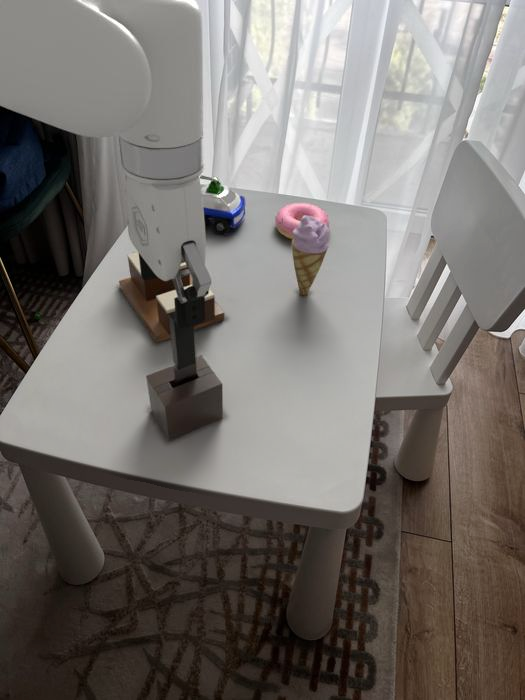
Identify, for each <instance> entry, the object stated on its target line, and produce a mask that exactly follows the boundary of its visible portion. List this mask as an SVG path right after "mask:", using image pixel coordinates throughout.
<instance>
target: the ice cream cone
mask: <svg viewBox="0 0 525 700" xmlns="http://www.w3.org/2000/svg"><path fill="white" fill-rule="evenodd" d="M299 219H300V218H299ZM300 221H301V222H300V223H299V224H298V225H297V227H296V228H295V229H294V231H293V240H292V239H291V251H292V261H293V267H294V271H295V277H296V281H297V287H298V291H299V294H300V295H302V296H307V295H308V293H309V291H310V289H311V287H312V285H313V284H314V282H315V280H316V277H317V275H318V274H319V271H320V269H321V266H322V264H323V262H324V260H325V257H326V255H327V251H328V248H329V246H330V231H331V230H330V229H329V227H327V224H326V223H322V224H321V223H320V222H319V220H318V219H316V218H314V217H312V216H306V215H304V216H303V217H302V218H301V219H300Z"/></svg>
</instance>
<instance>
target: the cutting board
mask: <svg viewBox="0 0 525 700" xmlns="http://www.w3.org/2000/svg"><path fill="white" fill-rule="evenodd" d="M192 282H193V279H192V276H191V274H190V285H192ZM118 283H119V289H120V290H121V291H122V293H123V294H124V296H125V298H126V299H127V301H128V302H129V303H130V305H131V307H132V308H133V309H134V311H135V312H136V314H137V316H138V317H139V318H140V320H141V322H142V323H143V324H144V326H145V327H146V329H147V330H148V332H149V334H150V335H151V337H152V338H153V340H154V341H155V342H156V344H159V343H162V342H164V341H167V340H171V335H169V334H168V333H167V331H166V330H165V328H164V327H163V325H162V324H161V323H160V321H159V317H158V308H157V300H156V299H153V300H149V301H146V300H145V298H144V297H143V295H142V294H141V292H140V291H139V290H138V288H137V287H136V285H135V284H134V282H133V281H132V279H131V276H130V277H127V278H124V279H121V280H120V279H119V280H118ZM224 320H225V311H224V310H223V309H222V307H220V305H218V303H217V302H216V301H215V319H214V320H211V321H208V322H205V323H203V324H200V325H197V326H194V331H195V330H198V329H201V328H204V327H207V326H209V325H212V324H216V323H218V322H221V321H224Z"/></svg>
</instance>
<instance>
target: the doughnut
mask: <svg viewBox="0 0 525 700" xmlns="http://www.w3.org/2000/svg"><path fill="white" fill-rule="evenodd" d="M304 215H306V216H312V217H314V218H316V219H318V220H319V222H320V223H321V224H322V223H326V224H327V227H328V228H329V227H330V223H331V222H330V219H329V216H328V214H327V213H326V212H325V211H324V209H323V208H321V207H320V206H317V205H315V204H312V203H307V202H295V203H294V202H293V203H290V204H287V205H283V207H281V208H280V209H279V210H278V211H277V213H276V216H275V220H274V221H275V225H276V228H277V230H278V232H279V233H280V234H281V235H282V236H284V237H286V238H287V239H289V240H291V241H292V240H293V231H294V229H295V228H296V227H297V225H298V224H299V223H300V222H301V221H300V219H301V218H302V217H303V216H304ZM299 218H300V219H299Z"/></svg>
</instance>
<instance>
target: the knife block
mask: <svg viewBox="0 0 525 700" xmlns="http://www.w3.org/2000/svg"><path fill="white" fill-rule="evenodd" d="M173 366H175V364H174V365H171V366H167V367H166V368H163V369H160V370H158V371H155V372H152V373H150V374H147V375H145V377H146V385H147V391H148V397H149V404H150V410H151V412H152V414H153V416H154V417H155V419H156V421H157V422H158V424H159V426H160V428H161V430H162V431H163V433H164V434H165V436H166V438H167V440H168V441H169V442H171V441H173V440H175V439H177V438H179V437H182V436H185V435H186V434H189V433H191V432H193V431H196V430H198V429H200V428H202V427H205V426H207V425H209V424H211V423H214V422H216V421H218V420H221V419H223V418H224V417H223V415H224V413H223V411H224V410H223V409H224V407H223V404H224V403H223V402H224V401H223V396H224V395H223V392H224V391H223V382H222V381H221V379H220V378H219V377H218V376H217V374H216V372H214V370H213V369H212V367H211V366H210V365H209V363H208V362H207V361H206V359H205V358H204V356H203V355H202V354H200V355H198V356H196V369H197V379H195V380H192V381H190V382H187V383H185V384H182V385H180V386H177V387H175V378H174V368H173Z"/></svg>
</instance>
